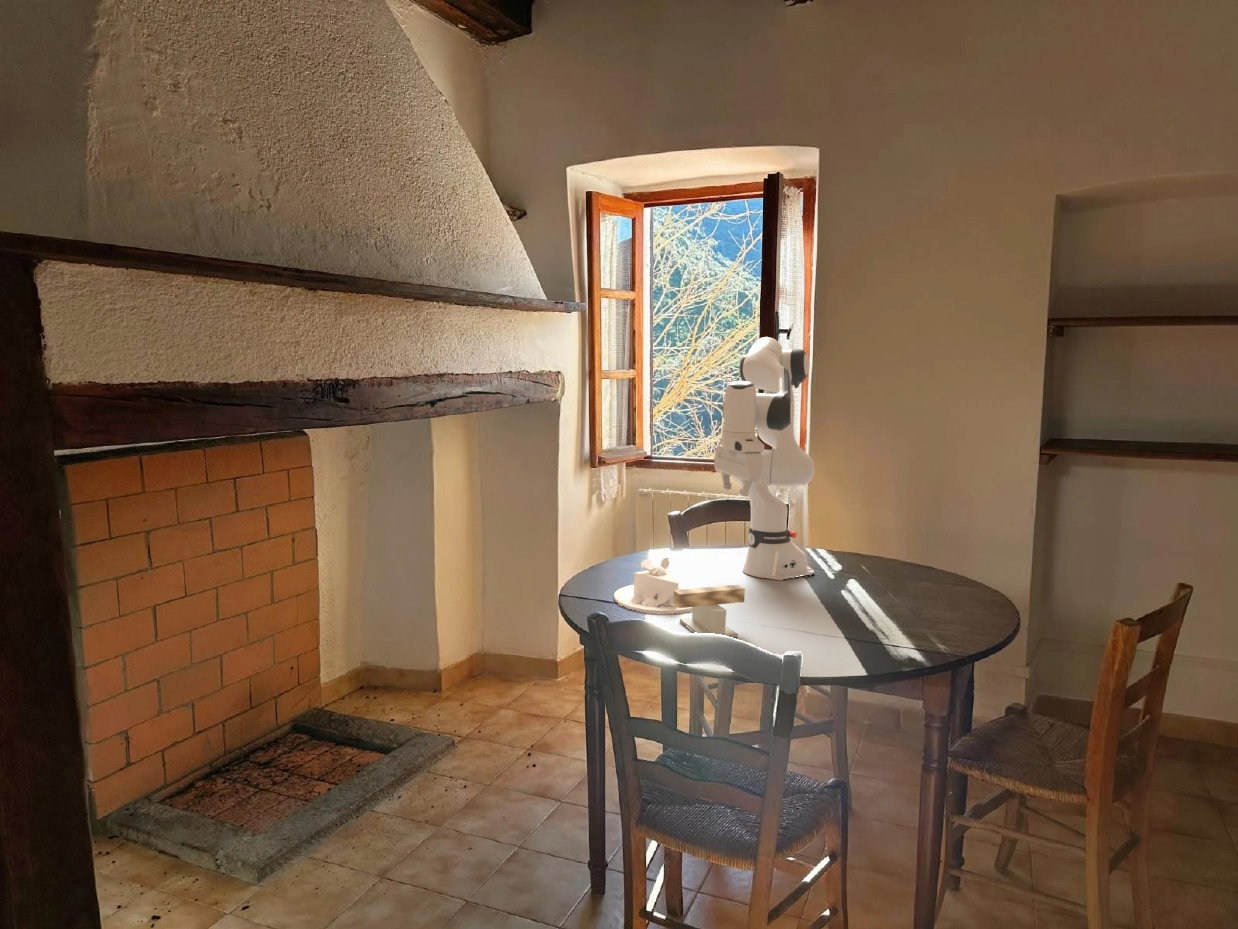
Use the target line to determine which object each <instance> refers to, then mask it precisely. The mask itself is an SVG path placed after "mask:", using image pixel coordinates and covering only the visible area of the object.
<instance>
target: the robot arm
mask: <svg viewBox="0 0 1238 929" xmlns="http://www.w3.org/2000/svg"><path fill="white" fill-rule="evenodd" d="M809 359H810V358H808V355H807V353H806V352H805V350H804V349H801V348H792V349H790V348H788V349H786V348H784V349H783V348H782V345H781V343H780V342H779V341H778V340H776V339H775V338H773V337H768V336H764V337H760V338H758V339H757V340H756V341H755V342H754V343H753V344H752V346H751V347H749V349H748V351H747V353H746V354H744V355H743V356H742V358H741V359H740V360H739V361H740V362H739V366H738V370H739V376H740V378H741V380H736V381H735V380H734V381H731V382H729V383H728V384H727V385H726V390H725V394H724V398H723V399H724V401H723V403H722V418H723V422H724V423H723V425H722V426H723V427H722V428H721V438H720V440H719V442H718V445H717V446H716V449H715V454H714V462H713V467H714V470H715V471H716V472H719V473H721V475H720V476H721V479H722V484H723V490H727V491H728V490H729V491H730V490H731V489H732V485H733V484H732V482H731V479H730V477H731V476H732V478H733V479H734V480H735V481H736V482H737V483H739V484H740V485H741V486H742V488H740V490H739V491H740V493H739V494H740V496H743V497H747V498H748V499H749V504H750V526H749V527H748V537H747V539H748V541H747V542H748V546H747V547H748V548H747V554H746V558H745V562H744V564H743V568H742V571H743V573H744V574H746V575H748V576H752V577H755V578H756V577H757V578H763V579H771V580H776V581H784V580H783V579H787V578H793V577H796V576H800V575H806V574H809V573H813V572H814V573H815V571H814V569H813V568H812V567H810V566H809V565H808V559H807V558H808V557H807V555H806V553H805V552H804V551H803V550H801V549H800V548H799V547H798V546H797V545H796V544H795V543H794V542H793V541H792V540H791V539H796V538H797V537H798V533H797V532H796V531H793V530H791V531H790V530H788V529H787V520H788V519H787V518H788V506H787V504H786V502H785V501H784V500H783V499H781V498H780V497H779V496H776V495H775V494H773V493H772V492H771V491H770V490H769V486H776V487H779V486H780V487H792V488H793V487H800V486H807V485H808V484H809V483H810V482H811V481H812V479H813V478H814V476H815V469H816V468H815V463H814V460H813V459H812V457H811V456H810V455H809V454H808V453H807V452H805V451H804V450H803V449H802V448H801V447H800V446H799V444H798V443H797V440H796V438H795V431H794V427H795V426H794V420H795V397H794V390H793V386H794V388H795V389H797V388H799V386H800V384H802V383H803V382H804V381H805V380H806V378H808V375H809V370H810V360H809ZM758 389H759V390H763V393H762V392H757V390H758ZM756 428H757V431H756ZM756 432H757V435H758V436H756ZM761 440H762V441H761ZM763 442H764V443H765V444H767V445H768V446H770V447H772V448H773V449H765V444H764V443H763ZM811 569H812V570H811ZM793 579H794V578H793ZM787 580H788V579H787Z"/></svg>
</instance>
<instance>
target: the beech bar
mask: <svg viewBox="0 0 1238 929" xmlns="http://www.w3.org/2000/svg"><path fill="white" fill-rule="evenodd" d="M745 595H746V589H745V587H743V586H741V585H740V584H729V585H719V586H706V587H694V588H689V589H682V590H674V596H673V604H674V605H675V606H677V607H678V608H688V607H698V606H708V605H719V606H720V605H726V604H727V605H729V604H738V603H740V604H741V603H745Z"/></svg>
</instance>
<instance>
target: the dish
mask: <svg viewBox="0 0 1238 929" xmlns="http://www.w3.org/2000/svg"><path fill="white" fill-rule="evenodd" d="M639 566H640V569H644V571H643V570H642V571H636V572H634V573H633V584H629V585H626V586H623V587H620V588H619V589H617V590H616V591H615V592H614V596H613V597H614V599H613V600H615V601H616V602H617V603H618V605H619V606H620V607H622V606H624V607H626V608H625V609H627V608H628V609H627V610H629V609H633V610H637V611H636V612H638V611H640V612H639V613H642V614H643V613H644V614H651V613H656V614H655V615H678V614H677V613H680V614H684V613H691V612H693V607H688V608H678V607H677V606H675V605H674V604H673V596H674V590H682V589H690V588H689V587H686V586H681V585H679V582H678V581H677V579H676V578H675V577H674V576H673V574H672V573H671V572H670V571H669V569H668V568H669V566H670V560H669V557H665V558H663V559H662V560H661V562H660V566H659V565H654V566H653V562H652V559H644V560H642V561H641V563H640V565H639ZM615 601H614V602H615ZM616 602H615V603H616ZM617 603H616V604H617ZM624 607H623V608H624ZM633 610H632V611H633ZM657 613H659V614H657ZM666 613H667V614H666ZM670 613H671V614H670ZM674 613H676V614H674Z"/></svg>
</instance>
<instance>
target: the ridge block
mask: <svg viewBox="0 0 1238 929" xmlns="http://www.w3.org/2000/svg"><path fill="white" fill-rule="evenodd" d="M691 612H692V613H691V615H692V616H691V617H685V618H679V623H680V624H681V623H682V624H683V625H682V624H681V625H682V626H684V625H685V626H688V627H689V628H690V629H691V630H692V631H691V633H693V632H697V633H715V634H722V635H727V636H729V637H737V638H736V639H738V637H739V633H738V632H736V631H735V630H733V629H732V628H730V627H728V626H727V625H726V624H727V622H726V621H727V609H726V608H724V607H722V606H721V605H720V604H719V605H708V606H698V607H693V611H691ZM685 626H684V627H685Z"/></svg>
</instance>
